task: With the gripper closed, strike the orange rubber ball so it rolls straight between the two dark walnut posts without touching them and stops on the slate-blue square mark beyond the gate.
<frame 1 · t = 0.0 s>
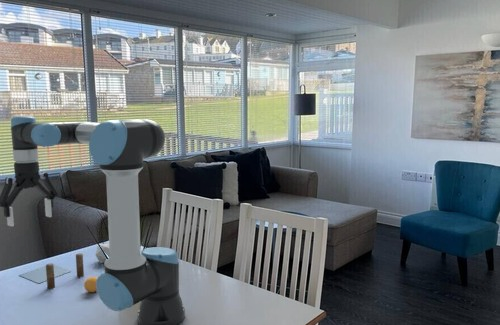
hand: (30, 221, 144), 28 cm above the table, tool pointing down, fingers open, 13 cm apart
ball: (92, 284, 151), on the table
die: (106, 261, 180), on the table
right post: (80, 275, 165), on the table
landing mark: (45, 273, 167), on the table
left post: (51, 287, 154), on the table
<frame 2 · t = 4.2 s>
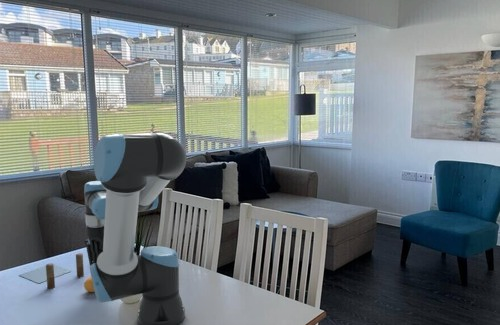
hand: (99, 285, 150), 3 cm above the table, tool pointing down, fingers closed
ball: (92, 284, 151), on the table, touching gripper
everything else where it was.
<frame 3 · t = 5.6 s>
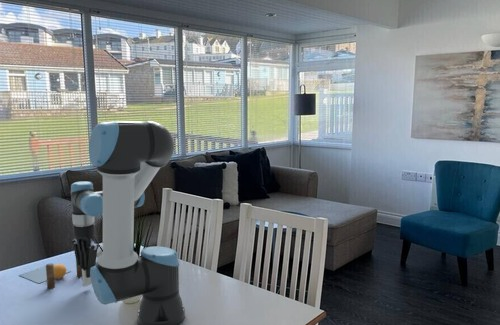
hand: (87, 284, 153), 2 cm above the table, tool pointing down, fingers closed
ball: (58, 271, 163), on the table
everything else where it was.
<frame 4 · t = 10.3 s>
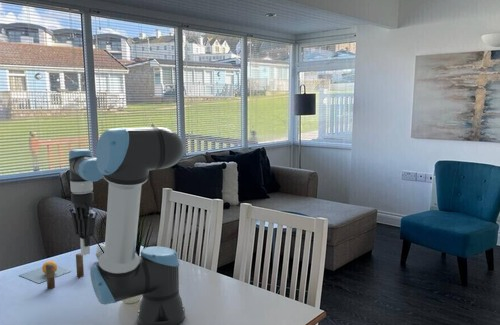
hand: (85, 254, 151), 14 cm above the table, tool pointing down, fingers closed
ball: (49, 267, 166), on the table
everything else where it was.
at the end: ball 2.3 cm from the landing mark (horizontally); ball never touched left post; ball never touched right post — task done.
